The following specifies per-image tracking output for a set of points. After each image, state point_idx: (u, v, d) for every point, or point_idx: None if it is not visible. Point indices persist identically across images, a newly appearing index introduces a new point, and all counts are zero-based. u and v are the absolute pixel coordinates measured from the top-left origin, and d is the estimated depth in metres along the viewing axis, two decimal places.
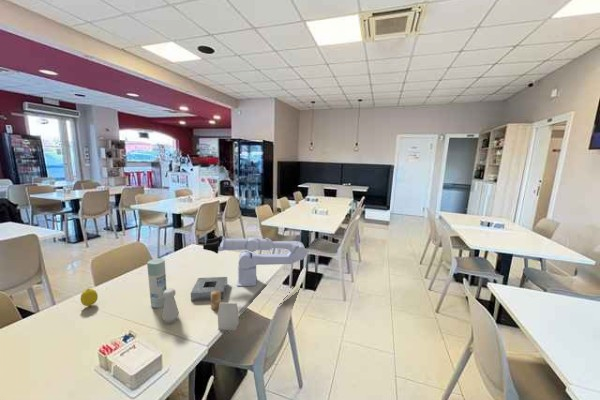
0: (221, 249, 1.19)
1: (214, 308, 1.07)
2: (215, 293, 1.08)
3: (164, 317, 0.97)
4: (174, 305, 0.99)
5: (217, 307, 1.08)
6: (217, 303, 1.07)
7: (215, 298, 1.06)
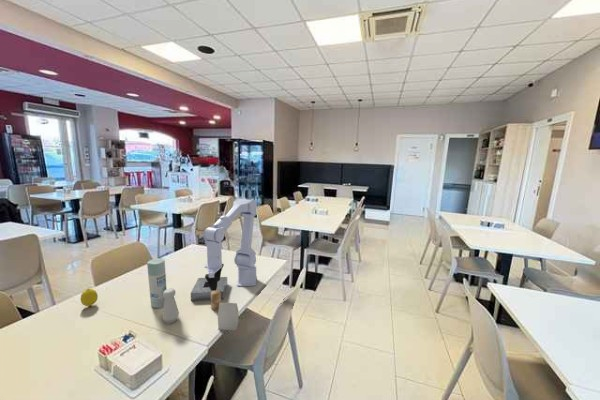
0: (211, 274, 0.99)
1: (214, 308, 1.07)
2: (215, 293, 1.08)
3: (164, 317, 0.97)
4: (174, 305, 0.99)
5: (217, 307, 1.08)
6: (217, 303, 1.07)
7: (215, 298, 1.06)
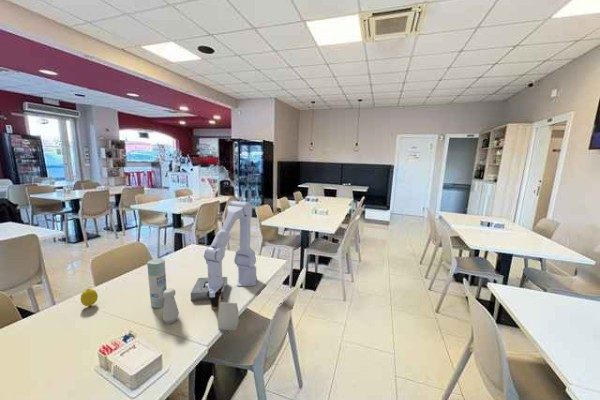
0: (212, 294, 1.00)
1: (214, 308, 1.07)
2: None
3: (164, 317, 0.97)
4: (174, 305, 0.99)
5: (217, 307, 1.08)
6: None
7: None
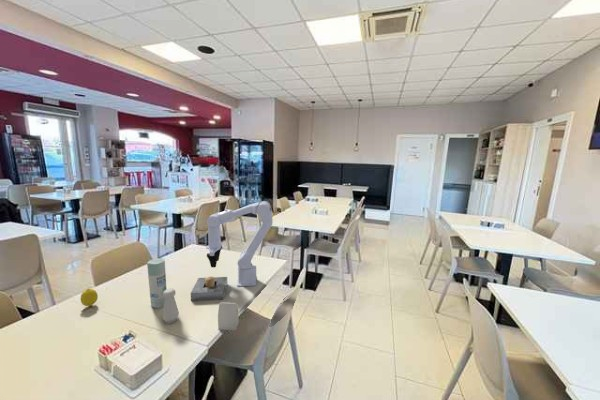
0: (212, 253, 1.20)
1: None
2: (209, 279, 1.20)
3: (164, 317, 0.97)
4: (174, 305, 0.99)
5: None
6: None
7: (209, 283, 1.18)
